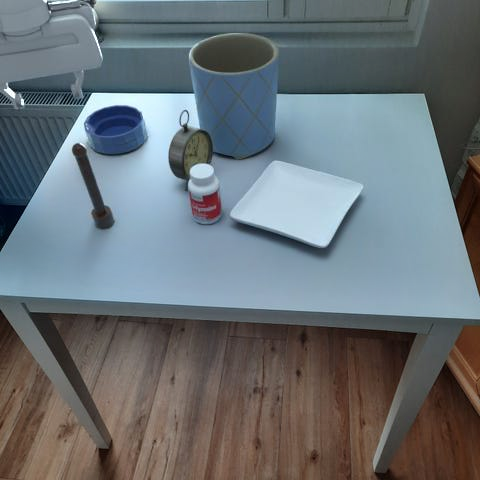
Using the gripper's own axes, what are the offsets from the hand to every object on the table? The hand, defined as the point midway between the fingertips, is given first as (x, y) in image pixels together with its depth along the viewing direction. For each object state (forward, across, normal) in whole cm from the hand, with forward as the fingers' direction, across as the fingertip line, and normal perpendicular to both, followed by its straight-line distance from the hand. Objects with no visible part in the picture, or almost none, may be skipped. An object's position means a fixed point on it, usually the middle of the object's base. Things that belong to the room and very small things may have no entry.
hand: (49, 102), depth 77 cm
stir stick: (+26, -2, 0) cm, 26 cm away
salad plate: (+26, -41, +10) cm, 50 cm away
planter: (+26, -37, -20) cm, 50 cm away
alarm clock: (+26, -23, -8) cm, 36 cm away
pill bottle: (+26, -23, +5) cm, 35 cm away
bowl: (+26, -9, -30) cm, 41 cm away
